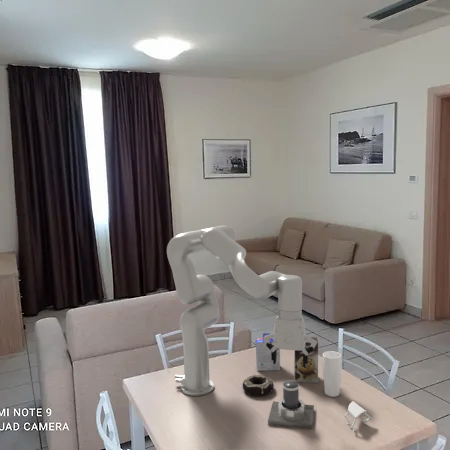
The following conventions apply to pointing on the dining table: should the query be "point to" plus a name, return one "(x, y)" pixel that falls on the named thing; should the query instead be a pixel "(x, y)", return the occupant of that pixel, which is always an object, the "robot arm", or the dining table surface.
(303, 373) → the coffee box
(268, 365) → the ink cartridge box
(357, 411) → the origami figure
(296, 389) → the lens
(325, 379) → the drinking glass
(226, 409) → the dining table surface
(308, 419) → the mount
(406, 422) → the dining table surface
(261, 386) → the donut
